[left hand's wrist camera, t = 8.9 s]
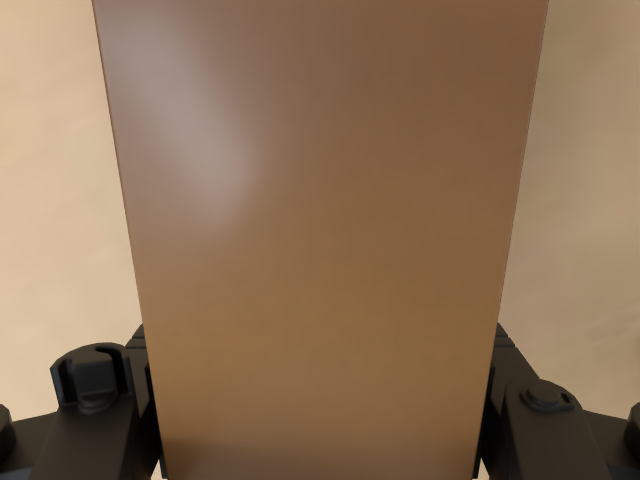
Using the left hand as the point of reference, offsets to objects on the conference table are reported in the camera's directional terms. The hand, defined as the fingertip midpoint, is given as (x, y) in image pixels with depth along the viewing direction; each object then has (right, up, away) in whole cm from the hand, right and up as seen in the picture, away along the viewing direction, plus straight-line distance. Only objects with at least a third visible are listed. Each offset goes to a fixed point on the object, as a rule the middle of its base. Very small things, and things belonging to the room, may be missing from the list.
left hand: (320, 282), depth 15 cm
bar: (0, +19, -6) cm, 20 cm away
